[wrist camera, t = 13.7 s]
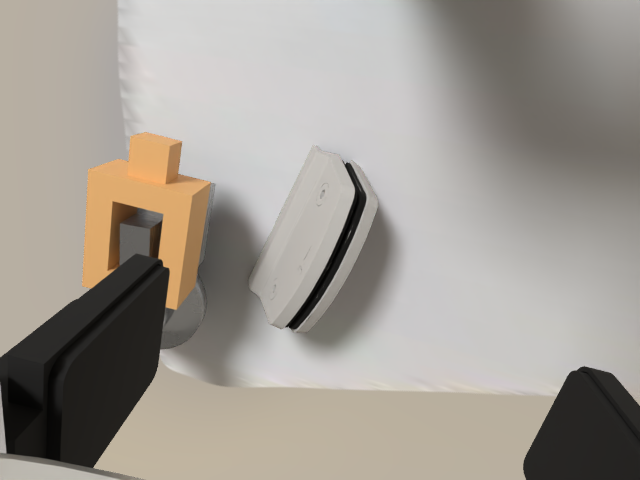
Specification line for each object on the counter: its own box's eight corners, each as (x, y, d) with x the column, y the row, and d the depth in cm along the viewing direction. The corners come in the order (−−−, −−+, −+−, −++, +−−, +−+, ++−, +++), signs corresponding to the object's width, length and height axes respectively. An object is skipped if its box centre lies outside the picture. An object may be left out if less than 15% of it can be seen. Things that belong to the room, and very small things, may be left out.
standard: (214, 325, 51) (162, 413, 37) (127, 303, 51) (44, 383, 37) (240, 175, 44) (190, 216, 31) (141, 149, 44) (49, 181, 31)
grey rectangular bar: (174, 189, 46) (119, 223, 35) (197, 194, 45) (150, 229, 35) (172, 223, 47) (119, 265, 36) (195, 227, 47) (148, 270, 36)
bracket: (195, 286, 42) (176, 309, 37) (110, 264, 42) (82, 286, 37) (216, 147, 37) (197, 156, 33) (121, 123, 37) (90, 129, 33)
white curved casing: (314, 140, 43) (343, 178, 34) (357, 159, 45) (394, 199, 36) (246, 282, 48) (256, 345, 40) (286, 294, 50) (303, 356, 42)
